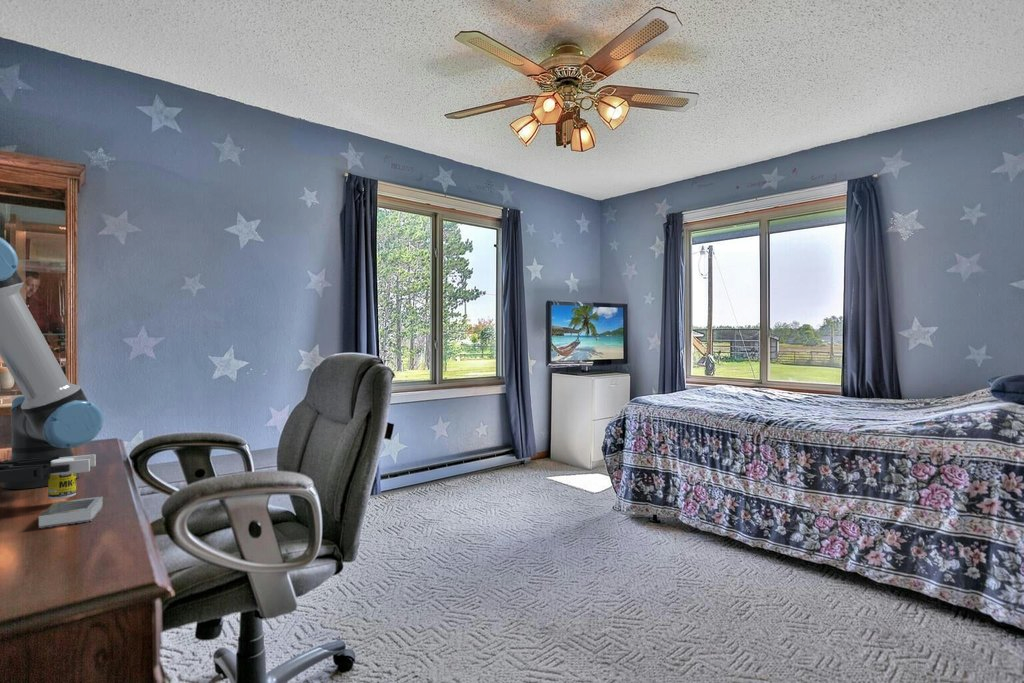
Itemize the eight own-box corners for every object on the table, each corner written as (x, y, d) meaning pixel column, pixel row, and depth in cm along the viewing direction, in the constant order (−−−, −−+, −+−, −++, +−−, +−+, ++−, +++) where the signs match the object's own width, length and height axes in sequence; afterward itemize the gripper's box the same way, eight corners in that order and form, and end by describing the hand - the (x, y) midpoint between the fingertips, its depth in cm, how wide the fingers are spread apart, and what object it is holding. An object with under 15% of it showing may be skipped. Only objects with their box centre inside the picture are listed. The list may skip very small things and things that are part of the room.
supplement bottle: (59, 500, 111) (59, 462, 111) (42, 499, 112) (42, 461, 112) (82, 494, 116) (81, 457, 115) (65, 492, 116) (65, 456, 116)
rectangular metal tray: (55, 513, 107) (55, 502, 107) (102, 507, 111) (102, 496, 111) (38, 528, 98) (38, 516, 98) (90, 521, 102) (90, 509, 102)
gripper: (-30, 483, 113) (101, 470, 124) (-73, 506, 97) (82, 488, 108) (-31, 450, 113) (101, 439, 124) (-74, 468, 97) (81, 454, 108)
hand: (92, 462), depth 116 cm, fingers closed on supplement bottle, 5 cm apart
